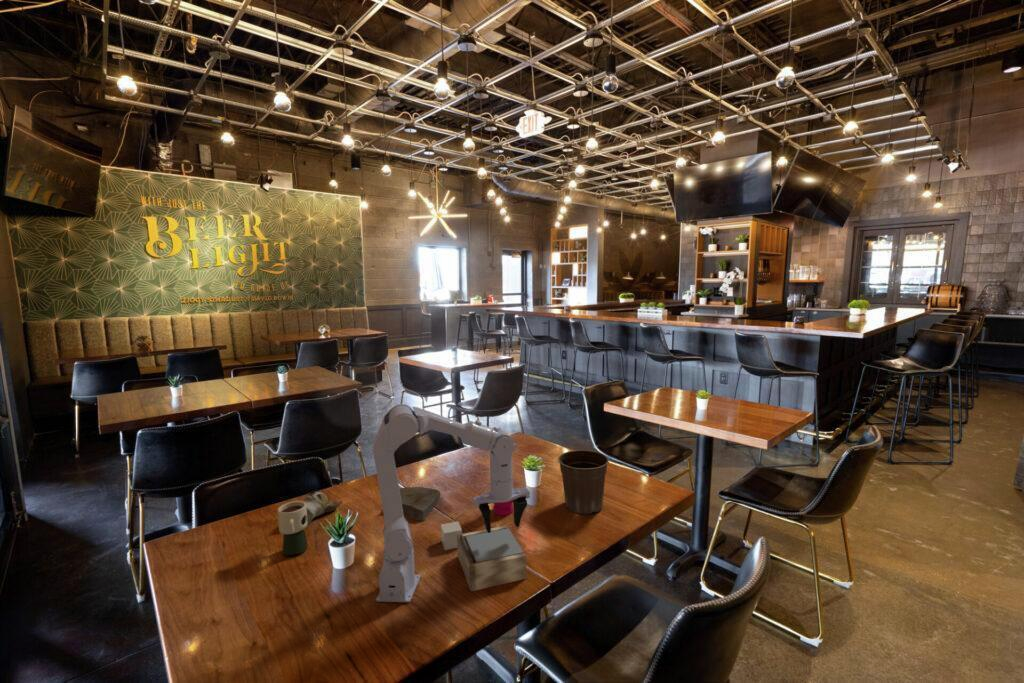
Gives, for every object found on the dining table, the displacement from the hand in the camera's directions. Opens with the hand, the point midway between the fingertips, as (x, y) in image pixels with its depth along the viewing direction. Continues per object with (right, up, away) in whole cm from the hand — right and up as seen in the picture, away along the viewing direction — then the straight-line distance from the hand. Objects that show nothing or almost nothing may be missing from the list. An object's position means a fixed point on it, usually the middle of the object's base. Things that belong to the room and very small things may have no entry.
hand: (502, 528), depth 116 cm
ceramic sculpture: (-61, -8, +29) cm, 68 cm away
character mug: (-58, -10, +9) cm, 59 cm away
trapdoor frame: (-2, -10, 0) cm, 10 cm away
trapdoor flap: (-2, -5, 0) cm, 6 cm away
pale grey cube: (-15, -9, +11) cm, 20 cm away
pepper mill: (0, -7, +29) cm, 30 cm away
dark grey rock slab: (-30, -7, +33) cm, 45 cm away
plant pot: (+26, -6, +31) cm, 41 cm away
